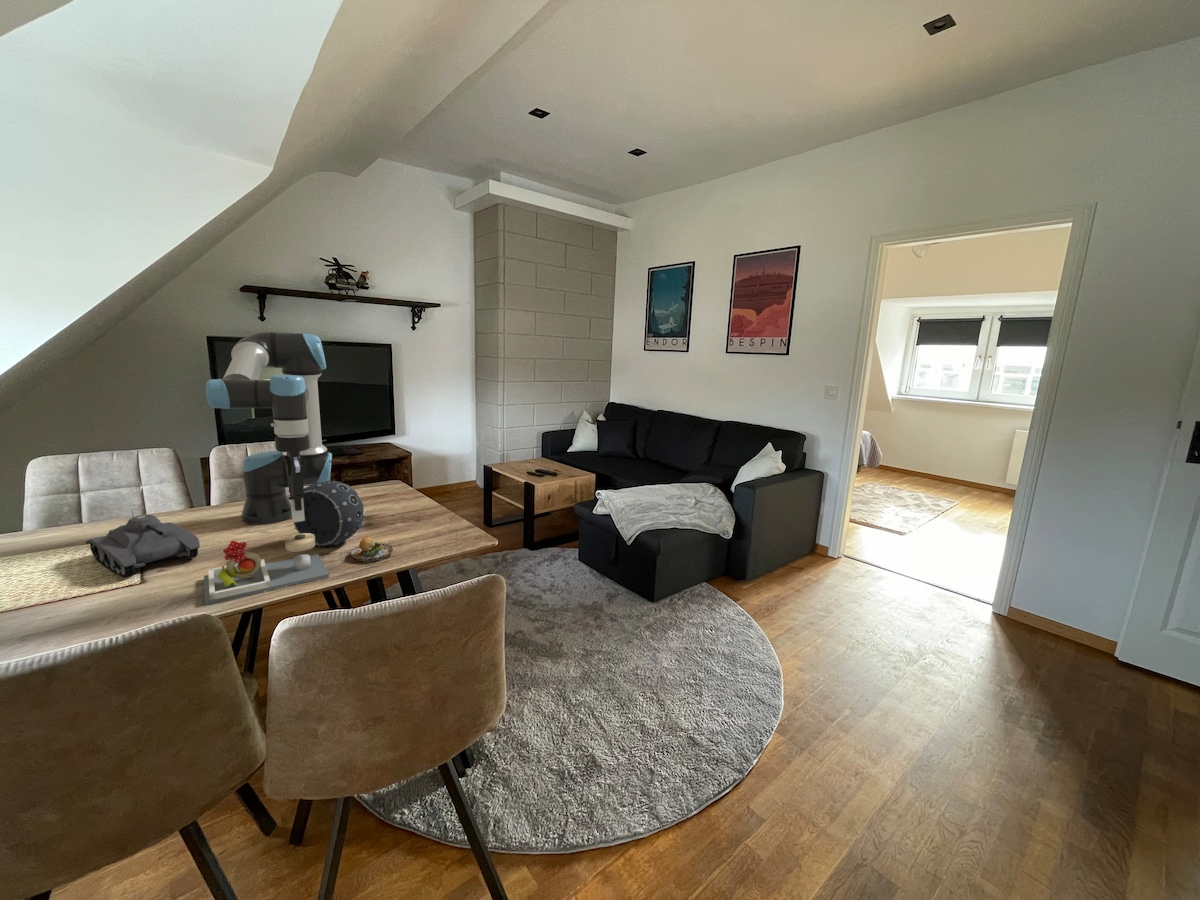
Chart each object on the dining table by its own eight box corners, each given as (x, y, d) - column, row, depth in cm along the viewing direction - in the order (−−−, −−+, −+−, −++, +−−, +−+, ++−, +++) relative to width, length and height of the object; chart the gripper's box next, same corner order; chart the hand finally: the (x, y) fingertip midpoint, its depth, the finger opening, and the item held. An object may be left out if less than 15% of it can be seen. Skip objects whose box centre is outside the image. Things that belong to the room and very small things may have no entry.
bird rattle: (247, 581, 128) (206, 578, 121) (263, 540, 129) (224, 536, 122) (255, 589, 124) (213, 587, 117) (271, 547, 125) (231, 543, 118)
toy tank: (121, 584, 121) (112, 528, 118) (87, 559, 134) (78, 507, 131) (205, 560, 137) (199, 510, 134) (168, 539, 149) (162, 493, 146)
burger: (398, 557, 145) (397, 534, 143) (356, 568, 137) (355, 543, 135) (384, 545, 153) (383, 522, 152) (344, 554, 145) (342, 530, 144)
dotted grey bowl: (346, 553, 145) (342, 490, 141) (289, 545, 148) (284, 483, 144) (369, 540, 155) (366, 481, 151) (316, 533, 159) (311, 474, 155)
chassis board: (204, 579, 125) (202, 565, 125) (317, 556, 142) (316, 543, 141) (205, 605, 113) (203, 589, 113) (328, 577, 130) (327, 563, 129)
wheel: (283, 545, 132) (282, 534, 131) (313, 539, 136) (312, 529, 135) (287, 553, 126) (286, 542, 126) (317, 548, 131) (316, 537, 130)
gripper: (271, 432, 128) (279, 516, 132) (277, 440, 118) (285, 530, 122) (304, 430, 132) (310, 511, 137) (312, 438, 122) (319, 525, 127)
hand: (298, 520), depth 130 cm, fingers closed
